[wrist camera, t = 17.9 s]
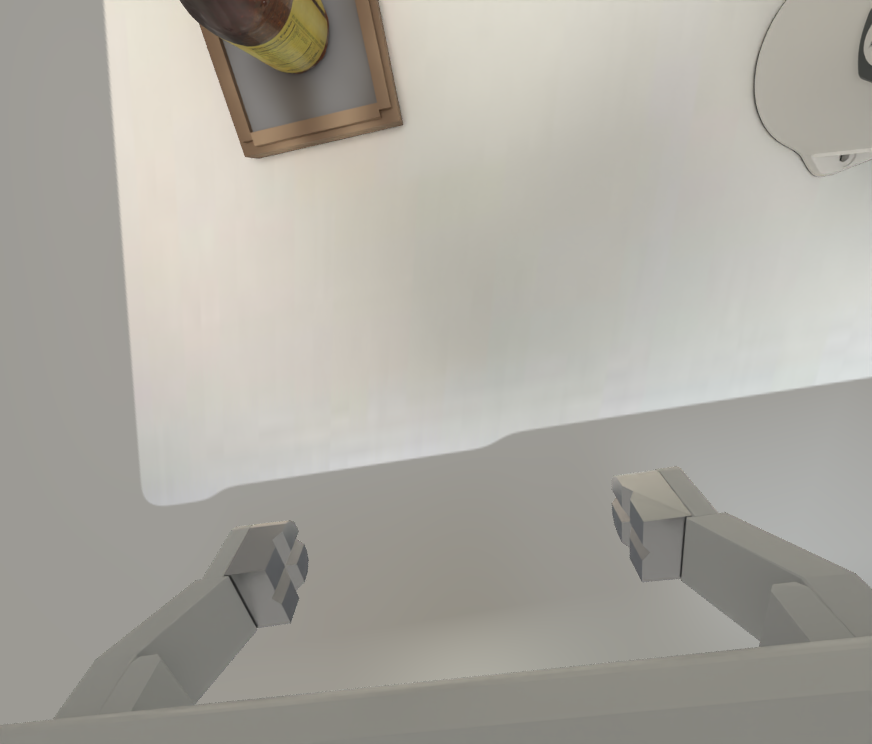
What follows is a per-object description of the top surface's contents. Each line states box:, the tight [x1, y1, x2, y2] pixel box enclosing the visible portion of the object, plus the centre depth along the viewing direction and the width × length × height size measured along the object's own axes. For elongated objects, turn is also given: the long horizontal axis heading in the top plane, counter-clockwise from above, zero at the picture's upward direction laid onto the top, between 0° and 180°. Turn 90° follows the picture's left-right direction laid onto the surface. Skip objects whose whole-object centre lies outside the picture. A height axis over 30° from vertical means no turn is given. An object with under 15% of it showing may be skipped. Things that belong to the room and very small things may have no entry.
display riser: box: [199, 0, 403, 158], centre depth 34 cm, size 14×15×4 cm
